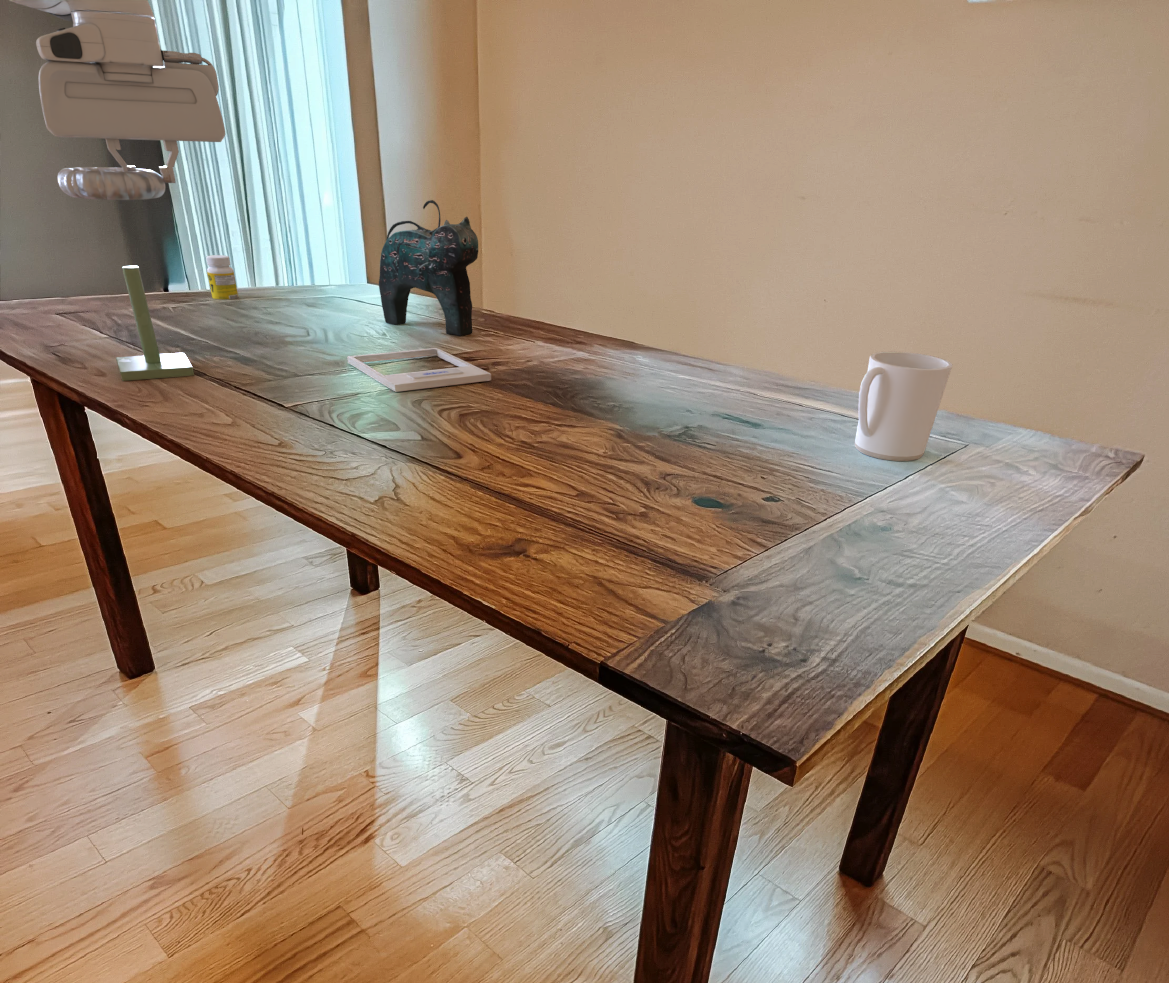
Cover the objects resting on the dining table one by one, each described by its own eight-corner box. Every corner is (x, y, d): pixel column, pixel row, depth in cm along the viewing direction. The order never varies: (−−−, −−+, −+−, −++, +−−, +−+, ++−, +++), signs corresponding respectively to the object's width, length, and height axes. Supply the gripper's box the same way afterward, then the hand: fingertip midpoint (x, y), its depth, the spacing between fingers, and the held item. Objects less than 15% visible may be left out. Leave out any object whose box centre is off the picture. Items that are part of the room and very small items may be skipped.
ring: (62, 200, 97) (54, 171, 95) (60, 193, 106) (53, 165, 104) (172, 200, 102) (166, 172, 100) (161, 193, 111) (156, 167, 109)
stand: (122, 381, 110) (93, 272, 102) (117, 366, 116) (90, 263, 109) (194, 375, 113) (171, 270, 106) (186, 361, 120) (163, 261, 113)
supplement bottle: (214, 303, 158) (204, 254, 153) (240, 303, 159) (231, 254, 154) (213, 307, 154) (203, 258, 149) (239, 307, 155) (230, 258, 150)
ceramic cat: (484, 334, 144) (480, 203, 133) (461, 339, 139) (455, 204, 128) (398, 318, 152) (387, 194, 141) (374, 324, 147) (361, 195, 136)
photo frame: (394, 383, 109) (346, 355, 122) (395, 391, 110) (347, 362, 122) (490, 372, 116) (436, 346, 129) (491, 380, 117) (437, 353, 129)
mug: (888, 435, 103) (910, 349, 97) (943, 457, 96) (970, 366, 91) (821, 445, 98) (839, 355, 93) (874, 468, 92) (897, 374, 86)
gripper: (209, 55, 104) (231, 182, 112) (22, 41, 95) (60, 180, 103) (217, 53, 99) (239, 185, 107) (21, 38, 91) (61, 183, 98)
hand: (150, 182), depth 105 cm, fingers closed on ring, 3 cm apart
